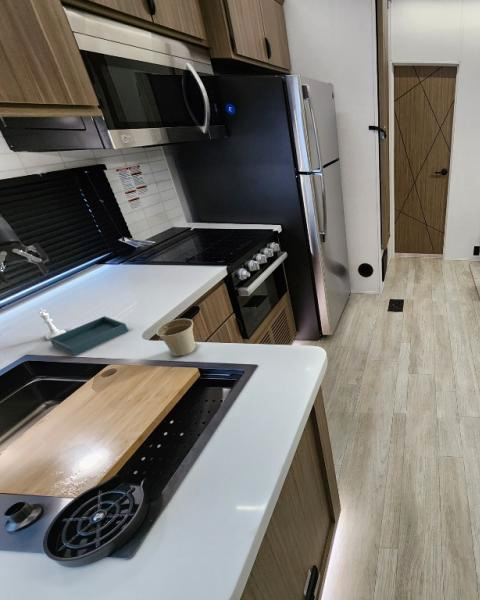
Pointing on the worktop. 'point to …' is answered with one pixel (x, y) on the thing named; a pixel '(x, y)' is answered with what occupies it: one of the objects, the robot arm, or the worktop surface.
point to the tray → (88, 335)
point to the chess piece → (50, 325)
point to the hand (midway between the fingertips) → (27, 279)
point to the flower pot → (178, 336)
